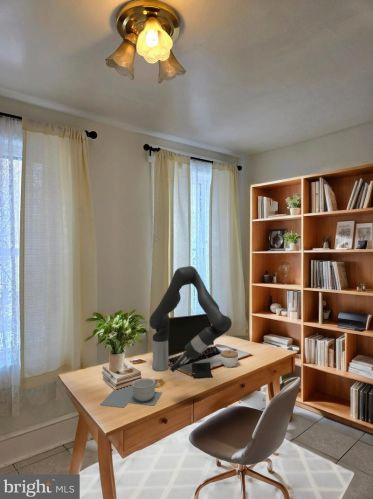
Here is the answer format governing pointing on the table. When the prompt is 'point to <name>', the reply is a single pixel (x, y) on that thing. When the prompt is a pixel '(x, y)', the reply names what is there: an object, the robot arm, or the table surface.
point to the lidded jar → (229, 358)
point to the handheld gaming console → (201, 370)
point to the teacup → (144, 388)
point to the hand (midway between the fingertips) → (171, 370)
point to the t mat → (127, 398)
